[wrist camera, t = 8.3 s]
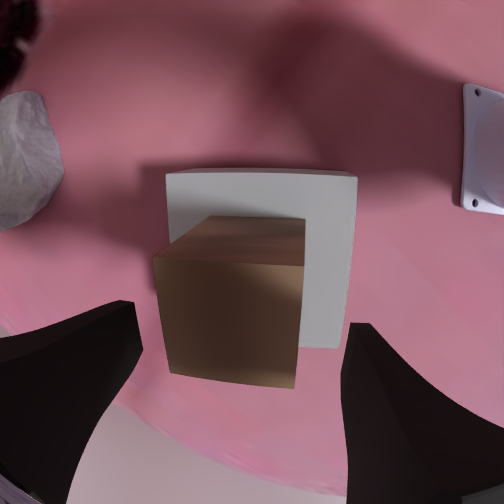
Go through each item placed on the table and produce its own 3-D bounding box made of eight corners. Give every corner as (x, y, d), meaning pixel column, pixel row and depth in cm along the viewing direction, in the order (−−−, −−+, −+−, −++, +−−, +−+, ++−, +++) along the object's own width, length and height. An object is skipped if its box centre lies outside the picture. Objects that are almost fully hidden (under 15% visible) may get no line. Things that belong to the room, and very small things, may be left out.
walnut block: (305, 218, 14) (304, 266, 8) (300, 307, 15) (294, 388, 10) (209, 215, 15) (152, 257, 9) (213, 300, 16) (169, 372, 11)
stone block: (88, 177, 22) (41, 78, 18) (51, 200, 18) (0, 85, 13) (22, 229, 25) (-17, 150, 21) (-8, 252, 21) (-50, 166, 17)
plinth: (346, 171, 17) (357, 177, 13) (334, 312, 20) (338, 348, 16) (193, 168, 18) (165, 173, 14) (200, 303, 21) (179, 334, 17)
